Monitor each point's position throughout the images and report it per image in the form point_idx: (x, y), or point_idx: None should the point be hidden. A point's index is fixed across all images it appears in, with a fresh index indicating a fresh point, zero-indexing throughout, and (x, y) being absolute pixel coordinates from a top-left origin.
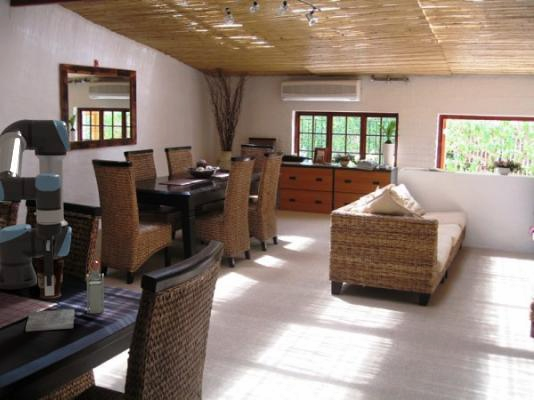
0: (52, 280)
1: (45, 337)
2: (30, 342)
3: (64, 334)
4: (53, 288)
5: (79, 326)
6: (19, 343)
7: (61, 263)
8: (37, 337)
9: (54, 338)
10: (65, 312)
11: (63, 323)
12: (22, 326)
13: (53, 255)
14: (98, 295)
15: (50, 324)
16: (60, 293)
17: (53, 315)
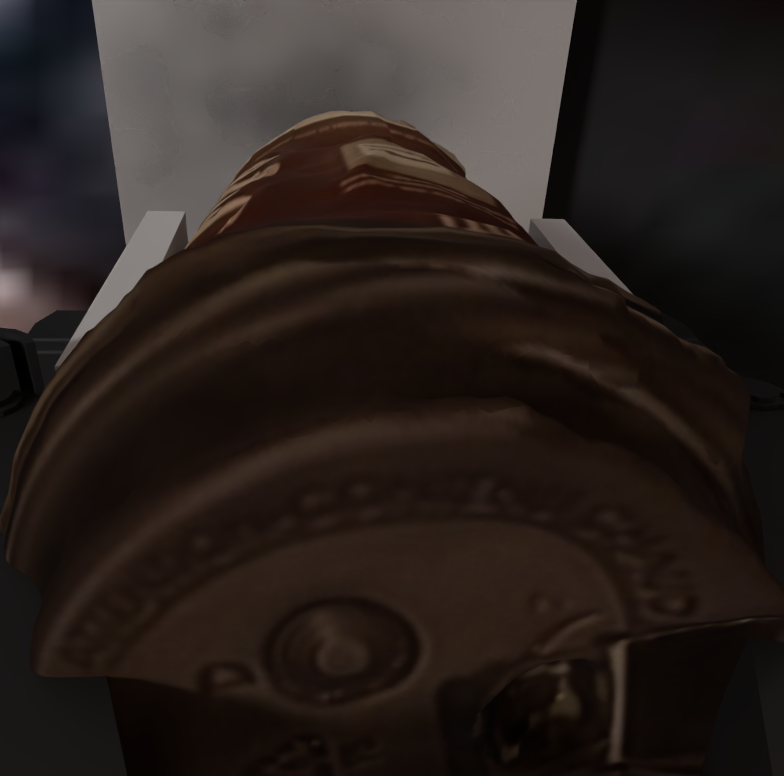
0: None
1: (699, 188)
2: (748, 289)
3: (703, 22)
4: (594, 263)
5: None
6: (730, 356)
7: (651, 315)
8: (671, 249)
9: (756, 113)
10: (194, 16)
11: (548, 37)
12: None
13: (112, 707)
14: None
15: (533, 167)
16: (371, 124)
17: None
